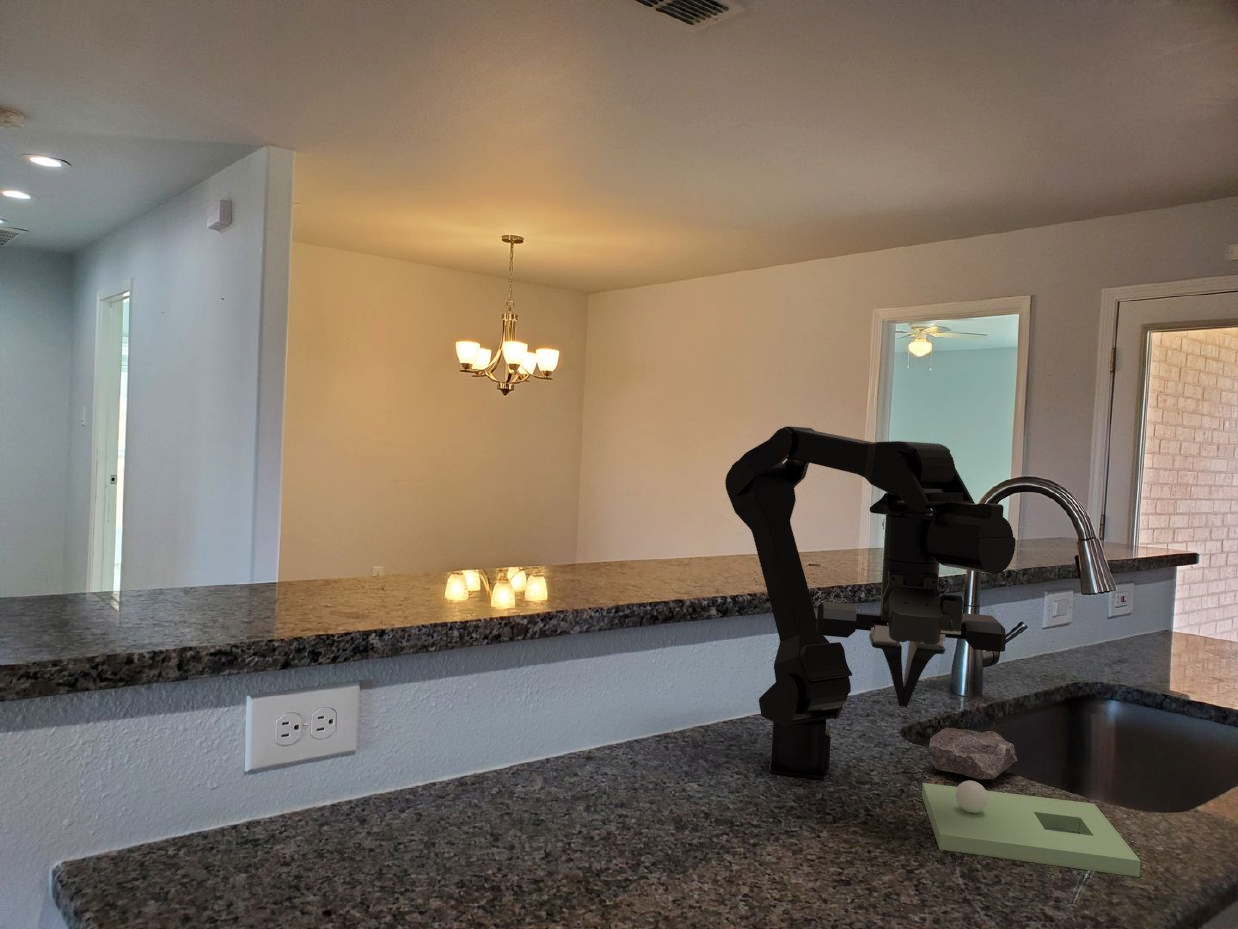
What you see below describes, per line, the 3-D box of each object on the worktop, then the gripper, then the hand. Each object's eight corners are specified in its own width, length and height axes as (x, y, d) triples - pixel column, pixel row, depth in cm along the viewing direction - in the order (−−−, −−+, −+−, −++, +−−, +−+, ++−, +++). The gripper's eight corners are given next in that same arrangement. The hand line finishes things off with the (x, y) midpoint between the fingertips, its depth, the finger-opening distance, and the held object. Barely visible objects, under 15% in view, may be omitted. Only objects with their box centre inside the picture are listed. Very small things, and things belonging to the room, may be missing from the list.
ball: (957, 816, 94) (959, 785, 94) (952, 804, 97) (954, 774, 97) (989, 820, 93) (991, 789, 93) (983, 808, 96) (985, 778, 96)
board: (939, 850, 89) (940, 834, 89) (921, 796, 103) (922, 782, 102) (1139, 877, 85) (1140, 860, 85) (1093, 818, 99) (1094, 803, 99)
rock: (1030, 768, 112) (1031, 731, 112) (987, 790, 104) (988, 750, 104) (967, 751, 118) (968, 716, 118) (922, 770, 110) (923, 733, 110)
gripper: (822, 562, 90) (813, 718, 90) (1022, 577, 86) (1012, 740, 86) (820, 550, 101) (812, 689, 101) (998, 563, 97) (989, 707, 97)
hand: (902, 706), depth 96 cm, fingers closed
